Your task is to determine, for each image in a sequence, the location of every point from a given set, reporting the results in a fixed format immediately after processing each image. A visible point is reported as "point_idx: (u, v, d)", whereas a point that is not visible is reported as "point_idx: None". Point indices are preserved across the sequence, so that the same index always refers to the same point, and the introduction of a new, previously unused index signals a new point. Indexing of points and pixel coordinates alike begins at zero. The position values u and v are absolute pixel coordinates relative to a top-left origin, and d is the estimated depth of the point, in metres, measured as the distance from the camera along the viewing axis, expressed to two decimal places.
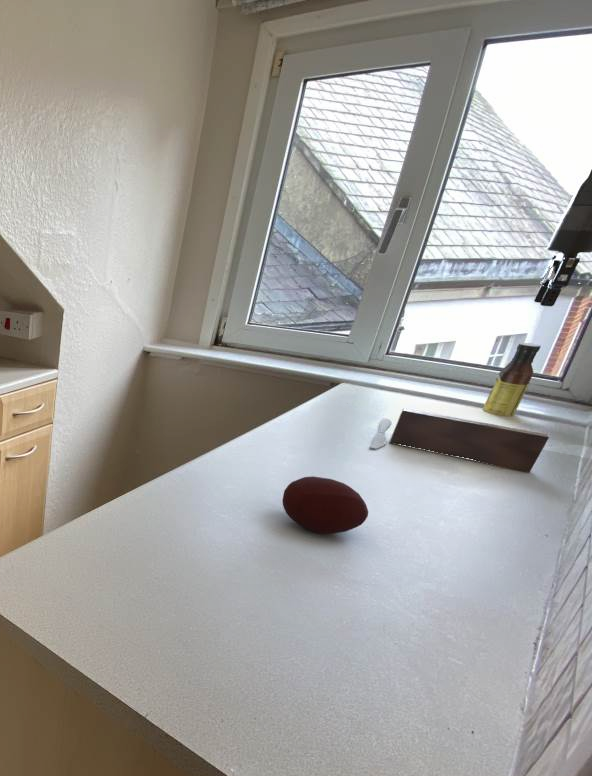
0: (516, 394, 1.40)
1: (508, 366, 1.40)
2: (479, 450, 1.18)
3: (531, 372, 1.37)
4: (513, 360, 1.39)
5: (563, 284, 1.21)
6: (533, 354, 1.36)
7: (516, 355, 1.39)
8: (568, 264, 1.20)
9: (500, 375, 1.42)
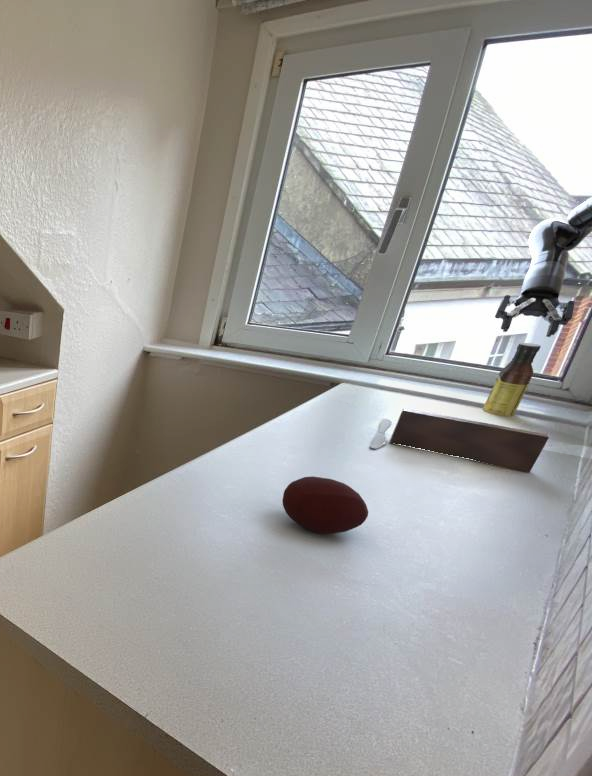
0: (516, 394, 1.40)
1: (508, 366, 1.40)
2: (479, 450, 1.18)
3: (531, 372, 1.37)
4: (513, 360, 1.39)
5: (498, 312, 1.49)
6: (533, 354, 1.36)
7: (516, 355, 1.39)
8: (501, 302, 1.50)
9: (500, 375, 1.42)
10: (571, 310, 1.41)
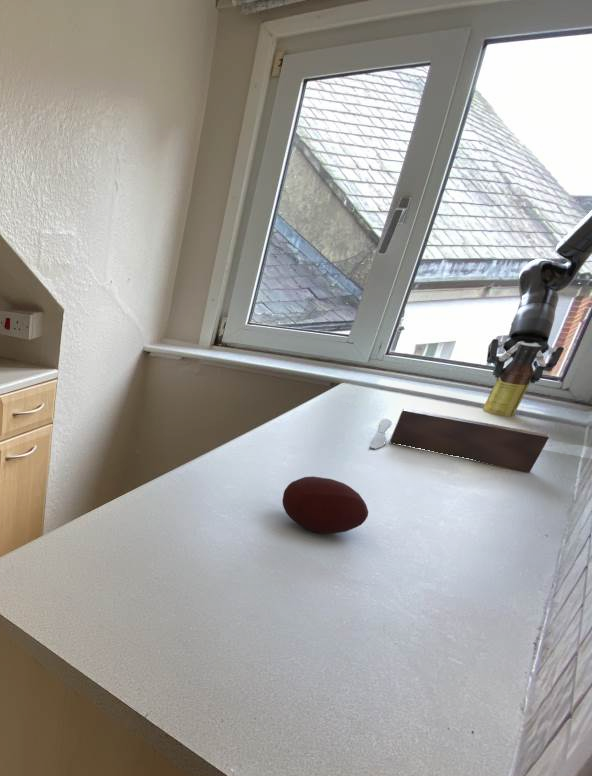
0: (517, 394, 1.40)
1: (509, 366, 1.40)
2: (479, 450, 1.18)
3: (531, 372, 1.37)
4: (514, 360, 1.39)
5: (489, 357, 1.43)
6: (534, 354, 1.36)
7: (517, 355, 1.38)
8: (489, 346, 1.45)
9: (500, 375, 1.42)
10: (558, 357, 1.37)
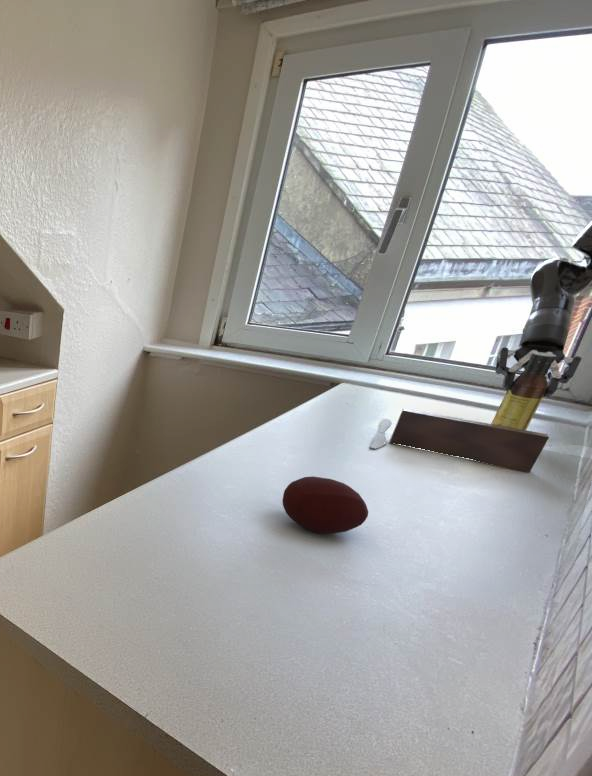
0: (529, 408, 1.27)
1: (520, 378, 1.27)
2: (479, 450, 1.18)
3: (545, 385, 1.24)
4: (525, 371, 1.26)
5: (498, 368, 1.30)
6: (548, 365, 1.23)
7: (529, 366, 1.25)
8: (498, 355, 1.32)
9: None
10: (574, 367, 1.24)
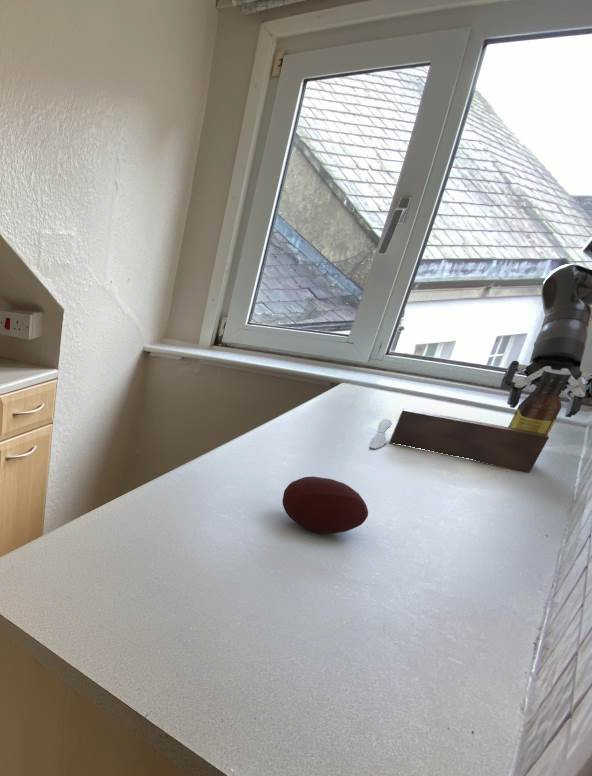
0: (541, 431, 1.14)
1: (530, 398, 1.14)
2: (479, 450, 1.18)
3: (559, 406, 1.12)
4: (536, 390, 1.13)
5: (503, 382, 1.18)
6: (562, 384, 1.10)
7: (540, 384, 1.13)
8: (507, 368, 1.19)
9: (520, 408, 1.16)
10: None
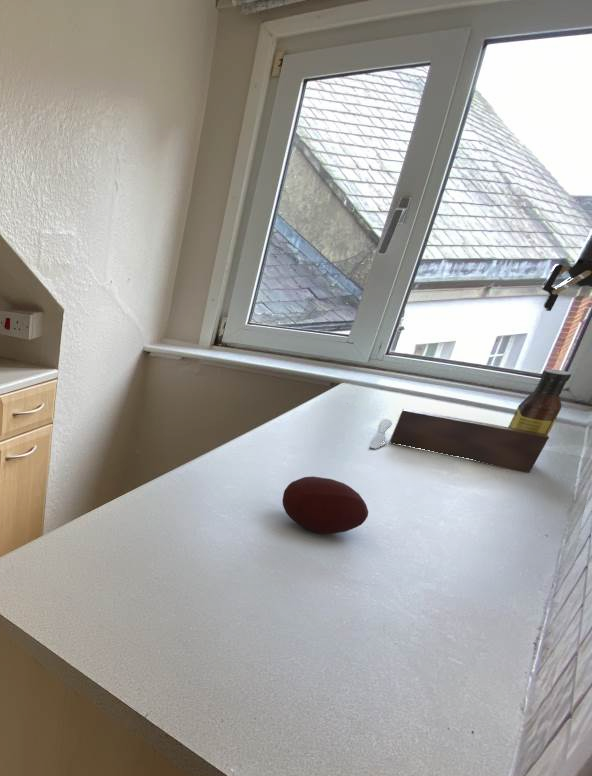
0: (541, 431, 1.14)
1: (530, 398, 1.14)
2: (479, 450, 1.18)
3: (559, 406, 1.12)
4: (536, 390, 1.13)
5: (543, 288, 1.32)
6: (562, 384, 1.10)
7: (540, 384, 1.13)
8: (552, 270, 1.30)
9: (520, 408, 1.16)
10: None
